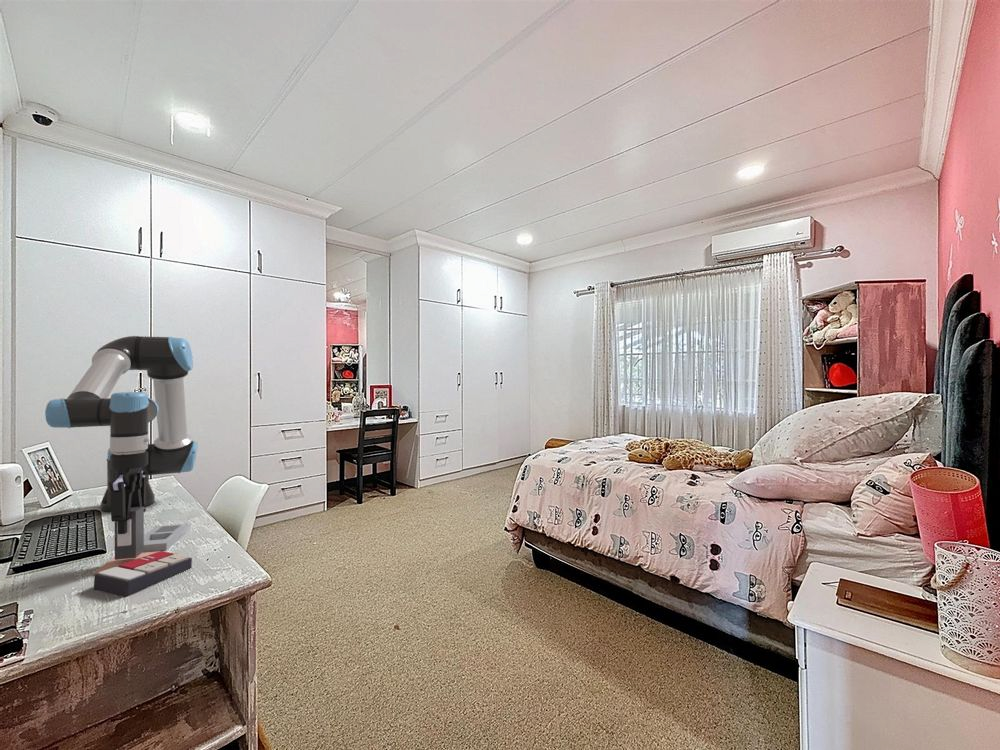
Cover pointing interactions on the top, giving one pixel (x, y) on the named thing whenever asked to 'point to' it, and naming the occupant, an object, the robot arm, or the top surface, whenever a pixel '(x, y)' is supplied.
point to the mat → (120, 562)
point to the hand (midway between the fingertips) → (129, 541)
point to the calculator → (141, 573)
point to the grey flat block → (164, 537)
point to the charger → (137, 536)
